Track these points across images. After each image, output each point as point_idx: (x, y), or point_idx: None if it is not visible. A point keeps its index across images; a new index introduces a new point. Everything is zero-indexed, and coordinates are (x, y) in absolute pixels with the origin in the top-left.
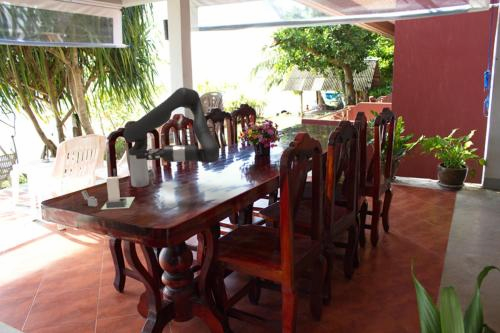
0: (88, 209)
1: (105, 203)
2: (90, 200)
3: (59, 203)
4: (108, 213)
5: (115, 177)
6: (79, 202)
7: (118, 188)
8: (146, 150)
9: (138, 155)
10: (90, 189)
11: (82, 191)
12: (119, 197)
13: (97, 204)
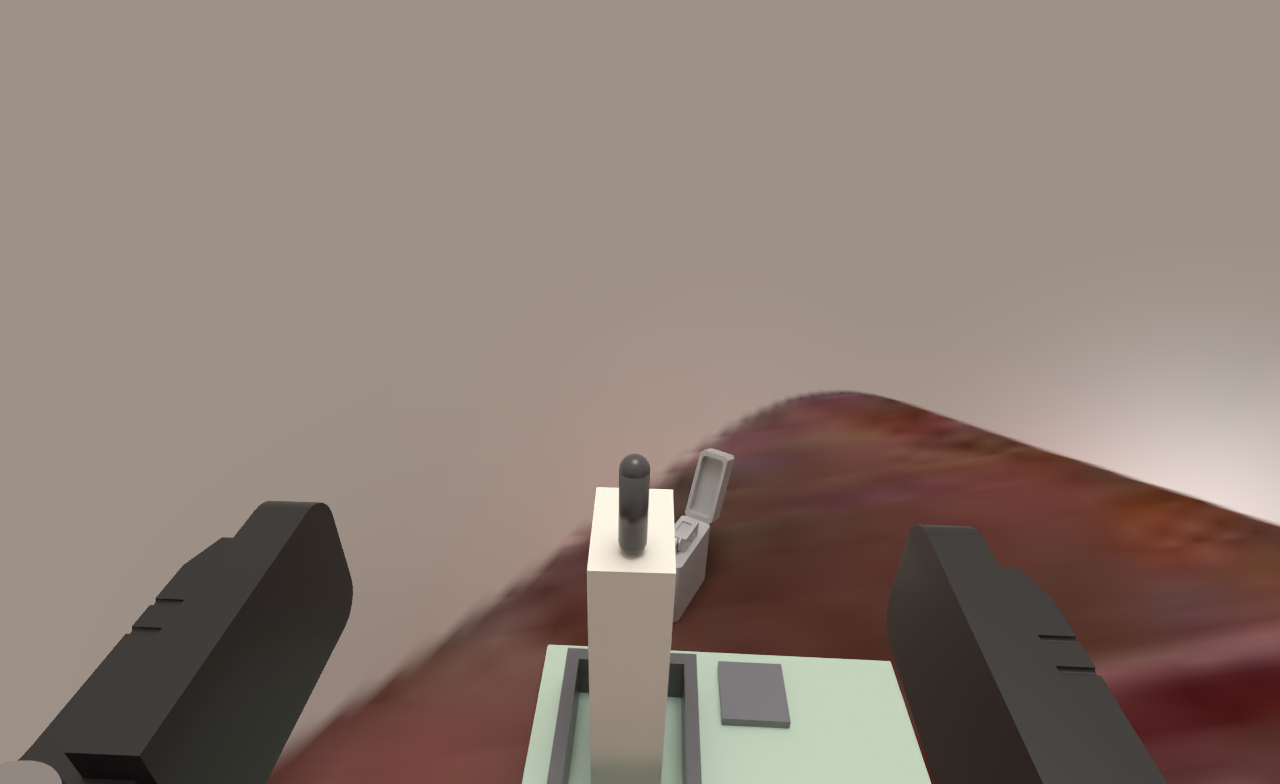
0: None
1: (721, 653)
2: None
3: (810, 434)
4: (481, 721)
5: (633, 553)
6: (831, 506)
7: (623, 670)
8: (1034, 769)
9: (183, 575)
10: (1179, 512)
11: (706, 449)
12: (632, 740)
13: (674, 601)
